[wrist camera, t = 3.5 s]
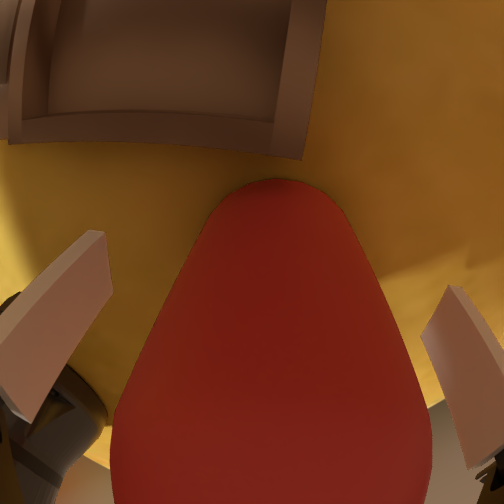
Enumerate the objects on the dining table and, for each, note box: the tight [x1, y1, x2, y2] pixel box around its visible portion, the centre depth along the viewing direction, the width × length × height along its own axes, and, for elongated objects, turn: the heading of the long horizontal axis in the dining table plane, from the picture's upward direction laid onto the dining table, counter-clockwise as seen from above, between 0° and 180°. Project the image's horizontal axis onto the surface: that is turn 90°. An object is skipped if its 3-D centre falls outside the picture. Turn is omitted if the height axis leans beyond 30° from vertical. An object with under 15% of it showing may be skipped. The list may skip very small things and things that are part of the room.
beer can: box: [110, 179, 432, 504], centre depth 8 cm, size 7×7×12 cm
